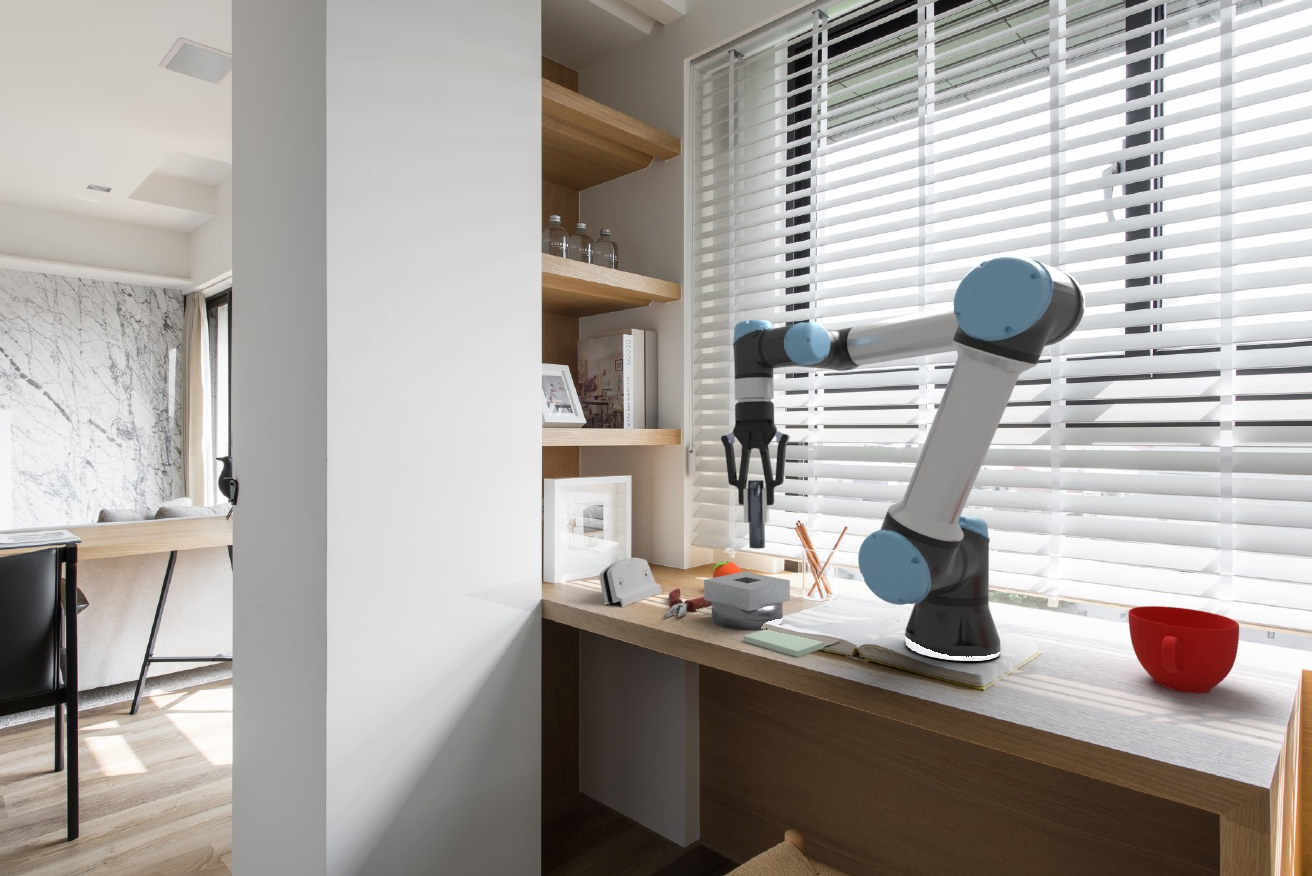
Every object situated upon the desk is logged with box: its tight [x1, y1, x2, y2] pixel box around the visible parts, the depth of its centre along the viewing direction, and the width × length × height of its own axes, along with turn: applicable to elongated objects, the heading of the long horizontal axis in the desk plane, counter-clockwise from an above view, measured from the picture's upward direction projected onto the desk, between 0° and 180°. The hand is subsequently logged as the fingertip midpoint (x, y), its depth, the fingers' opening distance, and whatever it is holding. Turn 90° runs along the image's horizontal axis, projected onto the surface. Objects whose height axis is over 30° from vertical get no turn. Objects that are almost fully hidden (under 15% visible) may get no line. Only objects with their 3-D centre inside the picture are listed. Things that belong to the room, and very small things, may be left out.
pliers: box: [664, 588, 712, 618], centre depth 149 cm, size 12×20×3 cm, turn 161°
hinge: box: [598, 557, 663, 606], centre depth 159 cm, size 17×5×10 cm, turn 148°
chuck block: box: [703, 571, 791, 631], centre depth 139 cm, size 14×14×8 cm
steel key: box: [747, 479, 766, 550], centre depth 136 cm, size 6×3×13 cm, turn 160°
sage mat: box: [743, 629, 825, 658], centre depth 125 cm, size 12×12×1 cm
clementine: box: [710, 561, 742, 578], centre depth 164 cm, size 8×7×7 cm
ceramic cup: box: [1127, 605, 1240, 694], centre depth 101 cm, size 13×17×10 cm
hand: (756, 521), depth 136 cm, fingers closed on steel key, 3 cm apart
